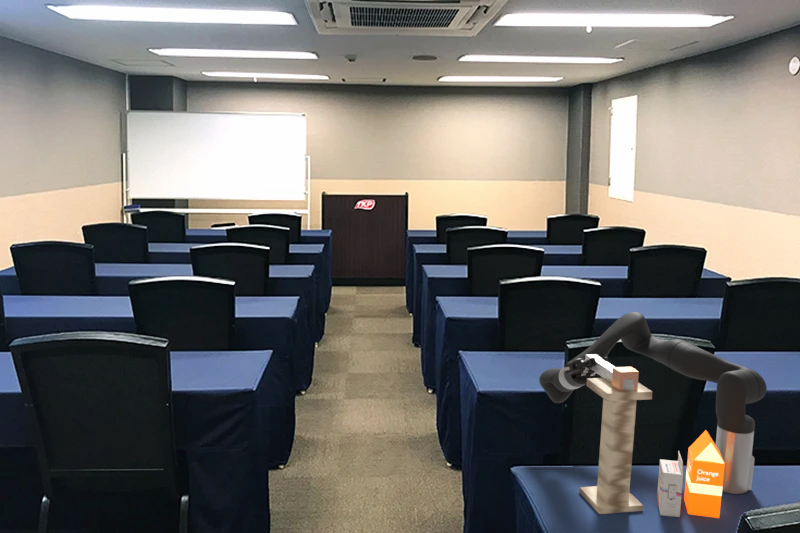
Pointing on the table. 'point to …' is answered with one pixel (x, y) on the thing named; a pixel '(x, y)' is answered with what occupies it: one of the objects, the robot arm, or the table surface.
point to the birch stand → (615, 449)
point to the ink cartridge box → (670, 487)
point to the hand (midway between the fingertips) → (600, 360)
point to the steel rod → (616, 374)
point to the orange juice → (704, 478)
